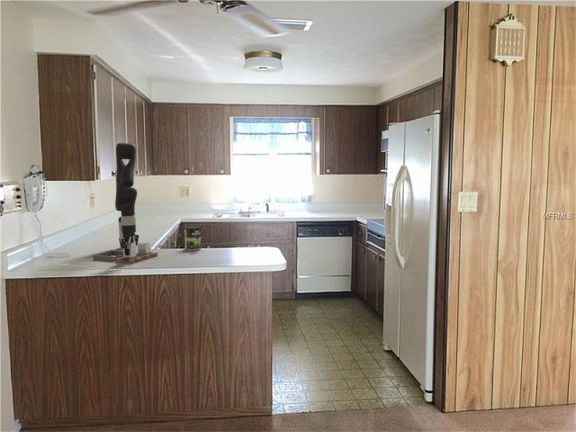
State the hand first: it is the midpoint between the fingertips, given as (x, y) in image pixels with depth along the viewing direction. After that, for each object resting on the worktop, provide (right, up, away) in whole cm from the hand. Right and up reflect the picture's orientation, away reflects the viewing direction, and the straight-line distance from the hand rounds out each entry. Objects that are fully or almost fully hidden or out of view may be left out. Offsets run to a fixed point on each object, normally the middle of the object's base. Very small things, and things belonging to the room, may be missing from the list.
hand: (129, 254), depth 260 cm
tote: (-12, -4, +10) cm, 16 cm away
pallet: (+2, -4, +6) cm, 8 cm away
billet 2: (+4, -2, +11) cm, 13 cm away
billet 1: (0, -1, 0) cm, 1 cm away
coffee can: (+27, 0, +40) cm, 48 cm away
